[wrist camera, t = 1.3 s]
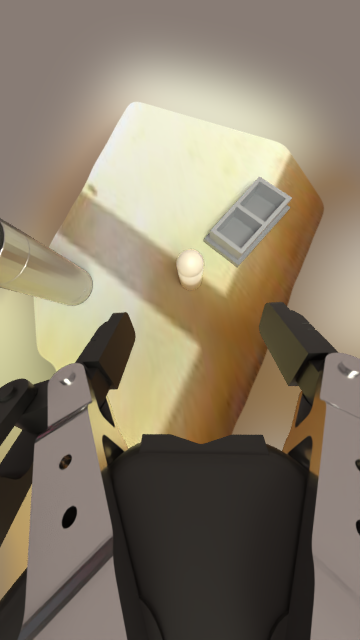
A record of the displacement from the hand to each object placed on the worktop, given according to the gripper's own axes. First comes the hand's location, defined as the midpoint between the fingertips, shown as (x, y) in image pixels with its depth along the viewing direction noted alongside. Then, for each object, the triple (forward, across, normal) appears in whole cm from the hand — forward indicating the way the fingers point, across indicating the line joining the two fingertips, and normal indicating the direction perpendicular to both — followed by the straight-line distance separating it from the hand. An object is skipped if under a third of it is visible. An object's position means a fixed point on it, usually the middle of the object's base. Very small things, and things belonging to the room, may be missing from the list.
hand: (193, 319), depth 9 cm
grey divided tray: (+33, -13, +1) cm, 36 cm away
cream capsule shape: (+25, 0, +9) cm, 27 cm away
